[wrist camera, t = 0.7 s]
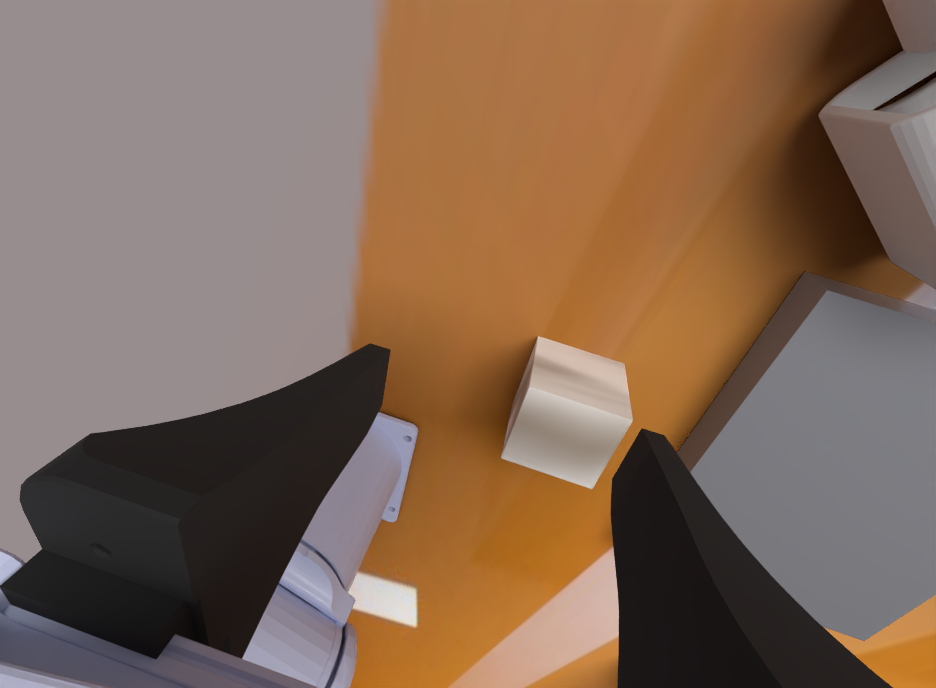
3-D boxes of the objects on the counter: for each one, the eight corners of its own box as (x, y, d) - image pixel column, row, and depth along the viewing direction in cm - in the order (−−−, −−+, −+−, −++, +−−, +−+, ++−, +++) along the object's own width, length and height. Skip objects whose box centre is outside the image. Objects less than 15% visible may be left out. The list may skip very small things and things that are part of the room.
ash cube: (590, 426, 25) (591, 489, 21) (513, 401, 25) (500, 458, 21) (624, 362, 22) (632, 420, 19) (538, 335, 23) (529, 386, 19)
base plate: (846, 606, 27) (864, 641, 26) (623, 529, 28) (625, 557, 26) (1159, 377, 18) (1221, 409, 16) (804, 271, 18) (827, 290, 17)
